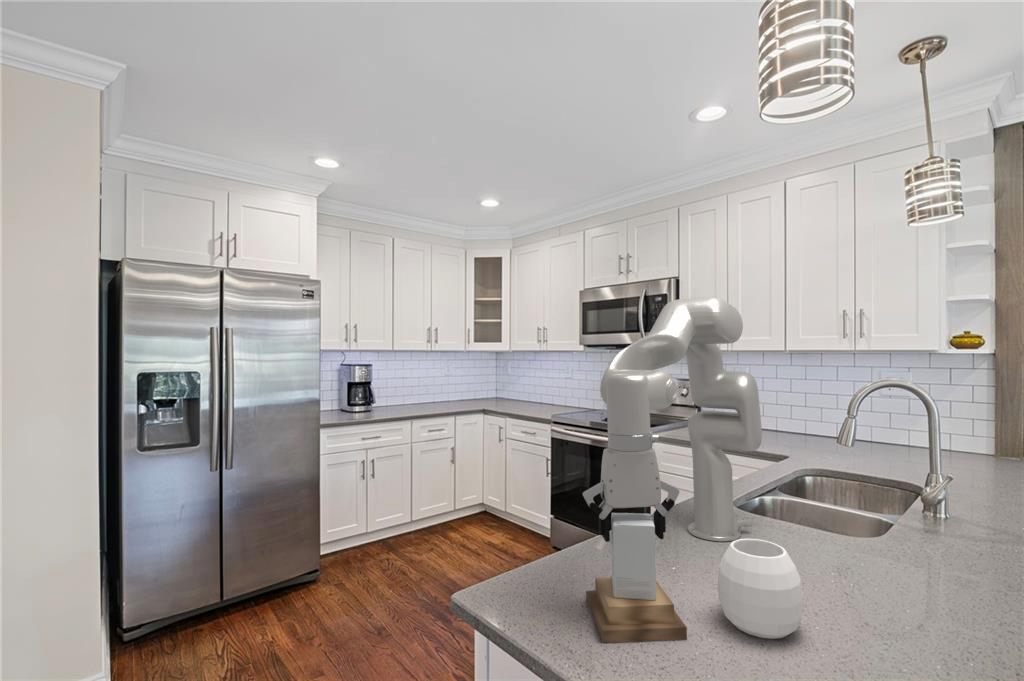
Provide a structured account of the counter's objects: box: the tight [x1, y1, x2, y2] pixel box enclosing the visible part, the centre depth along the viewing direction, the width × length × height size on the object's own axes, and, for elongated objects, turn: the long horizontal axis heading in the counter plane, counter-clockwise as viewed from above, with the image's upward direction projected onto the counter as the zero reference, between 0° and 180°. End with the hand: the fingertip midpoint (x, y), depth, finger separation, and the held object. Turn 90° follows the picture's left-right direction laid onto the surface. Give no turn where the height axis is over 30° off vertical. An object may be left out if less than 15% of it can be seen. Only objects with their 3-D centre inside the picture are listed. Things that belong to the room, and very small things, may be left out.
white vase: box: [717, 538, 804, 640], centre depth 87 cm, size 13×13×14 cm
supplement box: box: [610, 512, 657, 600], centre depth 90 cm, size 7×7×13 cm
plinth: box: [585, 576, 688, 644], centre depth 90 cm, size 14×14×5 cm
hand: (632, 537), depth 90 cm, fingers open, 9 cm apart
